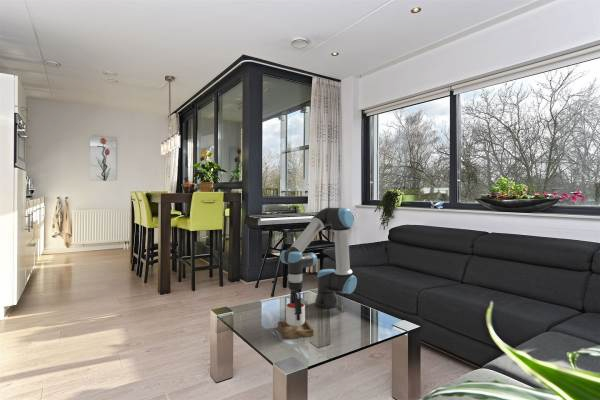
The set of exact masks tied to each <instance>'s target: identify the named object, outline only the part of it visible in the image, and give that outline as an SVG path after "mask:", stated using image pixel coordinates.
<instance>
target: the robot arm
mask: <svg viewBox="0 0 600 400" xmlns="http://www.w3.org/2000/svg"><path fill="white" fill-rule="evenodd" d="M353 225H354V214H353V212H352V210H350V209H349V208H347V207H325V208H323V209H321V210H319V211H318V212H316V214H314V215H313V216H312V217H311V219H310V223H309V224H308V225H306V228H305V229H304V230H303V231H302V233H300V235H299V236H298V237H297V239H296V240H295V241H294V242H293V243H292V245H291V246H290V247H288V249H285V250H282V251H281V252H280V255H279V260H280V262H281V263H283V264H286V265H288V268H287V269H288V270H287V271H288V272H287V274H288V275H287V278H288V279H287V280H288V283H287V284H288V286H287V287H288V289H289V290H290V297H289V303H293V304H294V303H295V311H296V313H294V314H295V326H301V314H302V312H301V303H302V297H301V293H300V290H302V289H303V269H307V268H309V267H310V268H311V267H314V266H315V265H316V264H317V263H318V257H317V255H316V254H315V253H314V252H305V250H306V248H307V247H308V246H309V245H310V243H312V240H314V238H315V237H316V236H317V234H319V232H321V230H323V229H325V227H327V226H328V227H329V226H330V227H331V231H332V232H333V233H334V249H335V251H334V252H335V253H334V254H335V267H336V268H335V269H334V268H326V269H320V270H318V271H317V276H316V278H317V280H316V281H317V282H316V283H317V294H316V296H315V300H314V302H315V303H314V305H315V306H316V307H318V308H322V309H330V308H331V309H333V308H336V307H338V306H339V301H338V300H339V299H338V298H337V294H336V292H338V293H341V294H349V295H350V294H353V292H354V291H355V289H356V287H357V284H358V279H357V276H355V275H353V270H352V269H351V264H350V260H351V259H350V246H349V245H350V243H349V232H350V230H351V227H353ZM298 311H299V312H298Z"/></svg>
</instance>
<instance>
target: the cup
mask: <svg viewBox="0 0 600 400" xmlns="http://www.w3.org/2000/svg"><path fill="white" fill-rule="evenodd" d="M305 309H306V305H305V304H304V303H303V302H301V312H302V314H301V325H303V324H304V323H305V319H306V315H305V314H306V313H305V312H306V310H305ZM285 312H286V314H285V319H286V320H285V321H286V322H287V324H288V325H290V326H295V314H294V313H296V311H295V303H294V304H293V303H290V302H289V303H287V304H286V305H285ZM298 312H299V311H298Z"/></svg>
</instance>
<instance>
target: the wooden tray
mask: <svg viewBox="0 0 600 400" xmlns="http://www.w3.org/2000/svg"><path fill="white" fill-rule="evenodd" d="M277 329H278V331H279V333H280V335H281V338H282V339H283V340H286V339H287V340H288V339H293V338H294V339H296V338H303V337H313V336H314V329H313V327H312V326H311V325H310V324H309V322H308V321H307V319H306V318H305V323H304V324H303V325H301V326H290V325H288V324H287V322H286V320H284V321H277Z"/></svg>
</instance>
